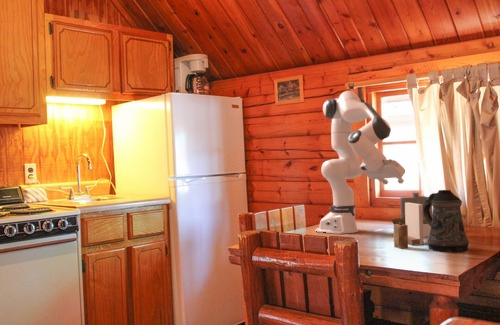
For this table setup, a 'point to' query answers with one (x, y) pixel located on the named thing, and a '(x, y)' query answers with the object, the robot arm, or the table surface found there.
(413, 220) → the wall board
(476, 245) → the table surface
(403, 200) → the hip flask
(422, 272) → the table surface
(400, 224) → the cabinet block
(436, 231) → the beer stein
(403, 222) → the wood carving
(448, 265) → the table surface
